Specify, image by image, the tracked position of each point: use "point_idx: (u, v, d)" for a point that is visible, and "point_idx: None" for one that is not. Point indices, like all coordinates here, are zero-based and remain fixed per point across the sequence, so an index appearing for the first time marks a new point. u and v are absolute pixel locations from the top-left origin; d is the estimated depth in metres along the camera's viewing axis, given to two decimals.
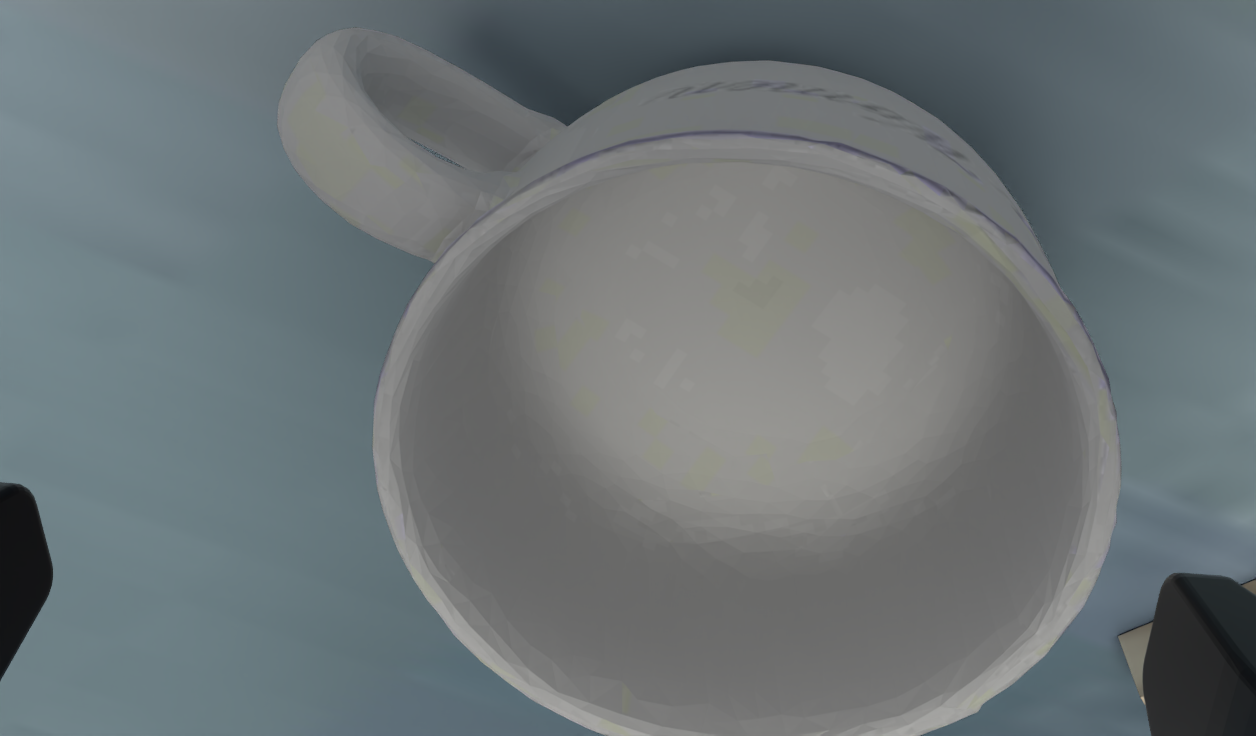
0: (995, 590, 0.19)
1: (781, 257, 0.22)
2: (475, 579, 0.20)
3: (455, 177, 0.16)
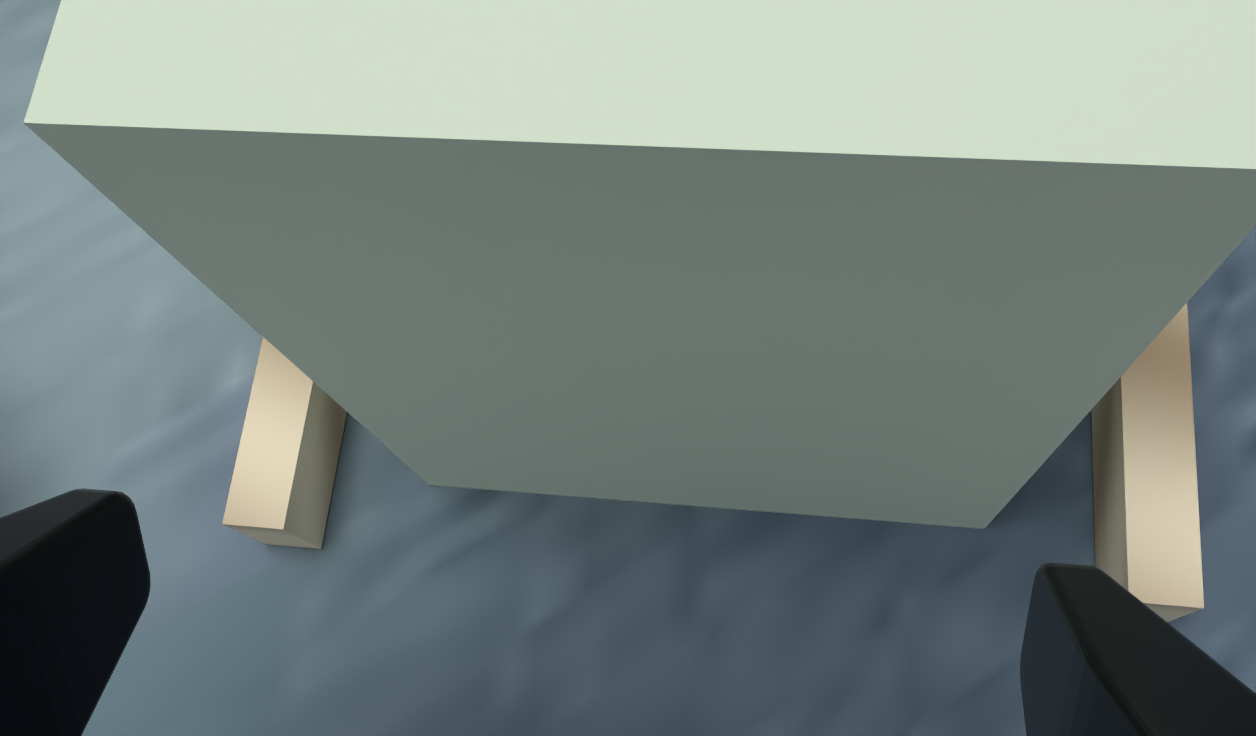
0: None
1: None
2: None
3: None
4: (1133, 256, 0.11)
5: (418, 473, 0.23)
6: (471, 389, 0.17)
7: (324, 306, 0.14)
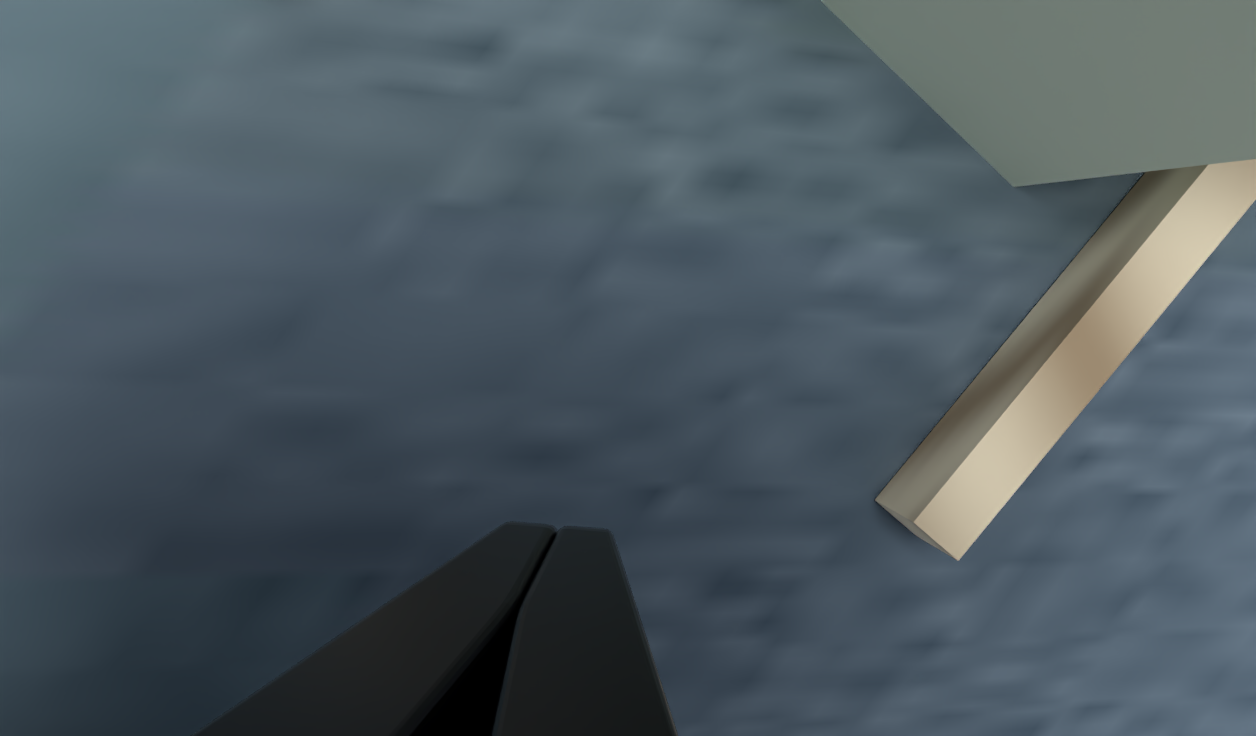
0: None
1: None
2: None
3: None
4: None
5: None
6: None
7: None
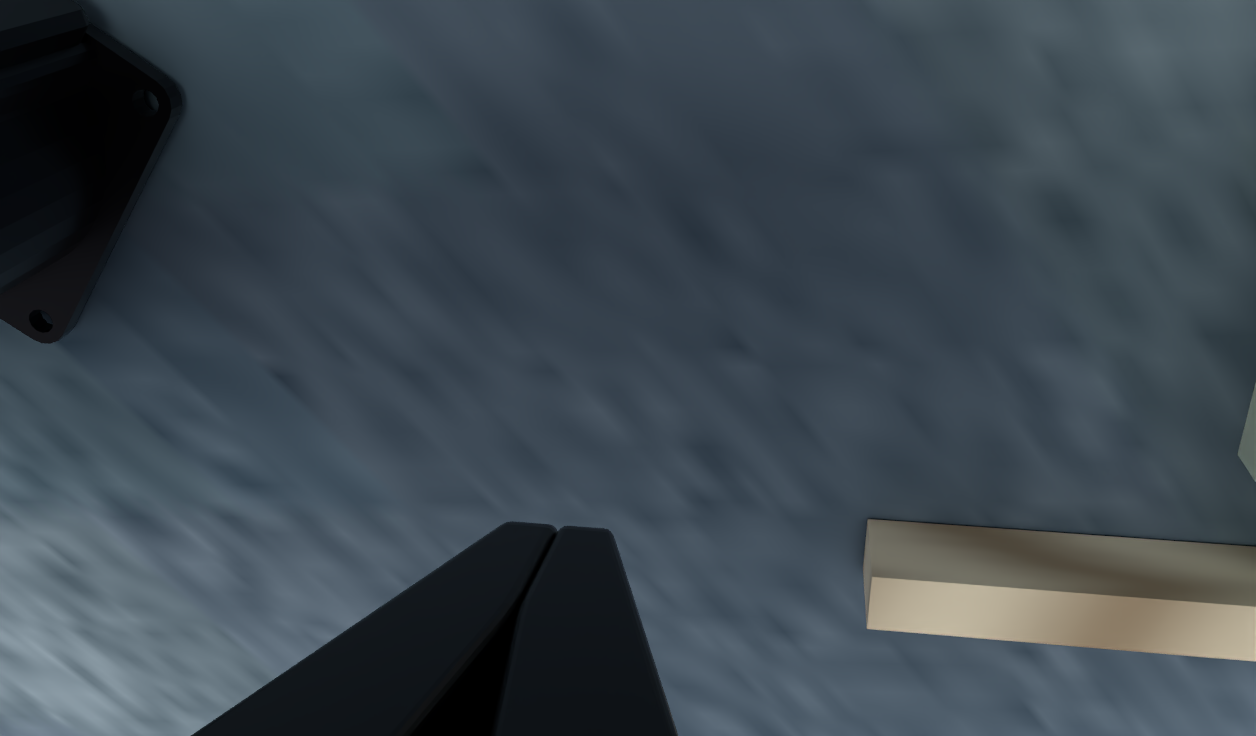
0: None
1: None
2: None
3: None
4: None
5: None
6: None
7: None
